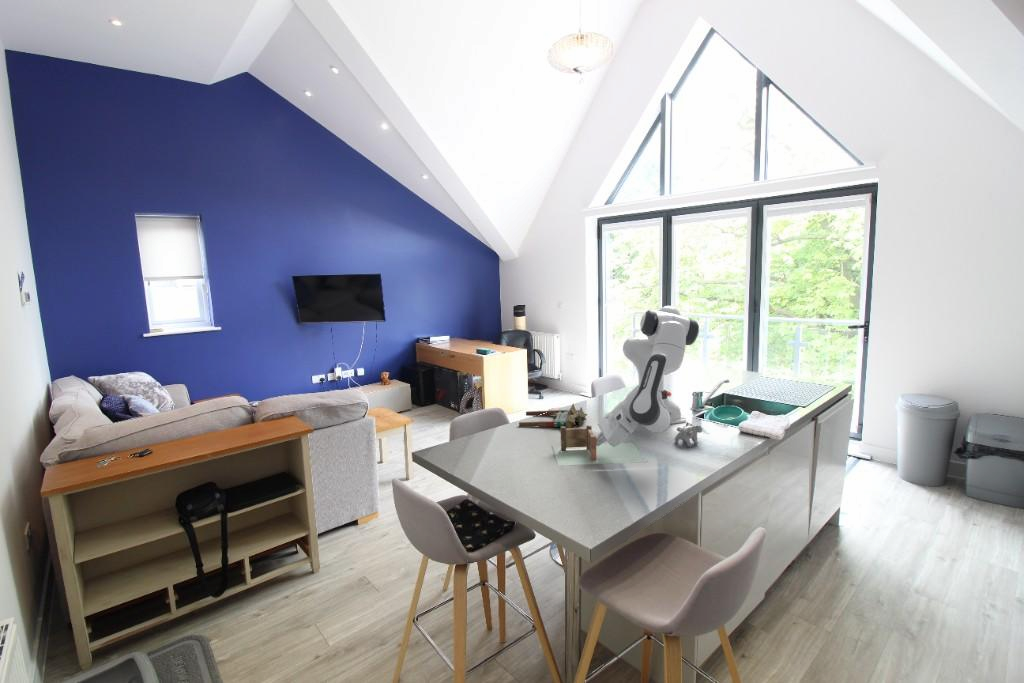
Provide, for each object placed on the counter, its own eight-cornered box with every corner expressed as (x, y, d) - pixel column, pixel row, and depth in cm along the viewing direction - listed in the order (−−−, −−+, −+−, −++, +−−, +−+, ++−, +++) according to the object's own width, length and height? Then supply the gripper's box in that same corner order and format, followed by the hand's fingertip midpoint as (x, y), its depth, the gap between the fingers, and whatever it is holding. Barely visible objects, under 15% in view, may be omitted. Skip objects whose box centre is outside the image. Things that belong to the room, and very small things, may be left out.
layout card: (631, 443, 193) (631, 442, 193) (647, 462, 174) (647, 461, 174) (551, 447, 192) (551, 445, 192) (558, 466, 172) (558, 465, 172)
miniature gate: (527, 406, 242) (587, 403, 235) (528, 416, 242) (588, 414, 236) (516, 422, 216) (584, 419, 209) (518, 434, 216) (585, 431, 210)
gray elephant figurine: (671, 445, 192) (672, 426, 190) (683, 435, 201) (684, 417, 199) (695, 450, 186) (695, 431, 184) (706, 440, 195) (706, 421, 193)
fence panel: (587, 449, 186) (587, 427, 185) (592, 449, 186) (591, 427, 185) (591, 460, 175) (591, 437, 174) (596, 460, 175) (596, 436, 174)
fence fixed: (591, 448, 189) (591, 425, 188) (592, 449, 187) (592, 426, 186) (560, 449, 188) (560, 426, 187) (561, 451, 186) (561, 428, 185)
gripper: (610, 404, 186) (585, 429, 187) (622, 420, 166) (594, 448, 167) (622, 414, 187) (597, 440, 188) (635, 432, 166) (607, 460, 168)
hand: (596, 444), depth 177 cm, fingers closed, pressing on fence panel
